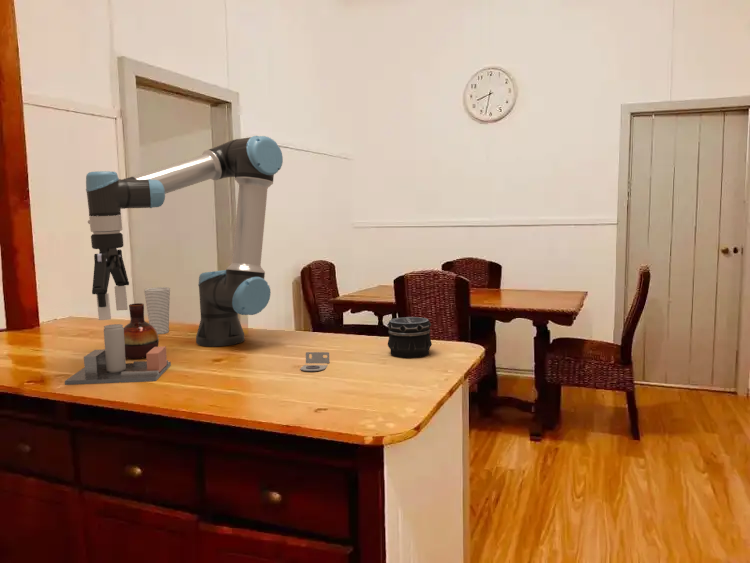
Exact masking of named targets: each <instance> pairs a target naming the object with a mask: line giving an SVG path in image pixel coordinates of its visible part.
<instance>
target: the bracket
mask: <svg viewBox="0 0 750 563" xmlns="http://www.w3.org/2000/svg"><path fill="white" fill-rule="evenodd" d="M310 355H311V358H310ZM324 356H326V357H324ZM307 364H308V365H307ZM309 364H310V365H309ZM322 364H323V365H322ZM324 364H325V365H324ZM328 364H330V352H328V351H327V352H325V351H320V352H319V351H313V352H311V351H306V352H305V364H304V365H302V366H301V367H300V370H301V371H304V372H317V371H318V372H319V371H324V370H326V369H327V367H328V366H329V365H328Z"/></svg>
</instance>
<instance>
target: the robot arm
mask: <svg viewBox="0 0 750 563" xmlns="http://www.w3.org/2000/svg"><path fill="white" fill-rule="evenodd" d="M283 158H284V157H283V152H282V150H281V148H280V146H279V145H278V143H277V142H276V141H275V140H274V139H272V138H271V137H269V136H265V135H262V136H261V135H254V136H250V137H245V138H244V137H242V138H236V139H232V140H230V141H227V142H225V143H223V144H220V145H217V146H215V147H211V148H210V149H206V150H204V151H203V152H202V153H201V155H197V156H195V157H191V158H189V159H184V160H181V161H177V162H175V163H171V164H168V165H165V166H161V167H159V168H155V169H151V170H149V171H144V172H142V173H138V174H135V175H132V176H130V177H126V178H123V179H121V178H119V175H118V173H117V172H116V171H109V170H107V171H106V170H105V171H102V170H100V171H99V170H98V171H89V172H88V173H86V176H85V187H86V188H85V192H86V198H87V207H88V217H89V219H88V221H87V223H88V225H89V227H90V228H89V230H90V232H92V233H93V234H91V235H90V239H91V240H90V241H91V242H90V243H91V248H92V249H93V250H99V251H98V252H99V253H94V255H93V257H94V264H93V265H94V266H93V279H92V290H91V293H92V295H96V303H97V304H96V305H97V317H98V320H99V321H107V320H108V321H109V320H112V315H111V304H110V302H111V301H110V293H109V292H108V288H109V283H110V282H109V281H110V278H111V276H112V279H113V281H114V285H115V286H114V296H115V297H114V298H115V309H116V311H128V310H129V306H128V299H127V297H128V296H127V286H129V285H130V281H129V278H128V274H127V270H126V265H125V263H124V258H123V252H122V249H120V248H123V247H124V235H123V234H122V233H121V232H122V231H123V221H122V211H121V210H123V209H152V208H159V207H162V205H164V203H165V199H166V194H169V193H172V192H176V191H177V190H181V189H184V188H187V187H190V186H194V185H196V184H198V183H203V182H205V181H208V180H212V181H219V180H222V179H227V178H234V180H235V181H236V183H237V185H238V194H237V195H238V196H237V204H236V206H237V208H236V215H235V225H234V226H235V228H234V236H233V248H232V259H231V264H229V265H228V266H227V267H226V268H225V269H224V270H215V271H213V270H212V271H206V272H202V273H200V274H199V277H198V291H199V293H198V294H199V307H200V308H199V310H200V321H199V325H198V329H197V332H196V335H195V336H196V337H195V339H196V340H195V341H196V342H195V343H196V345H198V346H201V347H225V346H232V345H237V344H240V343H243V342H244V341H245V332H244V330H243V327H242V324H241V322H240V319H239V315H241V316H247V315H248V316H253V315H254V316H255V315H257V314H259V313H261V312H262V311H263V310H264V309H265V308H266V307H267V305H268V304H269V302H270V298H271V294H272V293H271V287H270V285H269V284H268V281H267V280H265V277H266V276H265V274H266V271H265V270H264V269H263V267H262V266H261V263H262V255H263V254H262V251H263V242H264V232H265V220H266V210H267V209H266V208H267V207H266V206H267V198H268V189H269V188H270V187H271V186H272V185H273V184H274V176H275V175H276V174H277V173H278V172H279V171H280V170H281V169H282V166H283V163H284V162H283Z"/></svg>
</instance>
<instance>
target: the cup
mask: <svg viewBox="0 0 750 563" xmlns="http://www.w3.org/2000/svg"><path fill="white" fill-rule="evenodd" d="M170 292H171V288H170V287H165V286H164V287H161V286H160V287H159V286H158V287H148V288H145V289H143V293H144V298H145V305H146V306H145V307H146V311H147V317H148V323H149V324H151V325H152V326H153V327H154V328H155V329H156V331H157V333H158V335H163V334H168V333H169V332H170V303H171V302H170V301H171V298H170V297H171V293H170Z"/></svg>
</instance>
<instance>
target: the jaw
mask: <svg viewBox="0 0 750 563" xmlns="http://www.w3.org/2000/svg"><path fill="white" fill-rule="evenodd" d="M145 359H146V361H147V371H148V370H158V372H160V371H161V370H162V369H163V368H164V367H165V366H166V365H167V346H158V347H154V348H153V349H151V350H150V351H149V352H148V353H147V354H146V358H145Z"/></svg>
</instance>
